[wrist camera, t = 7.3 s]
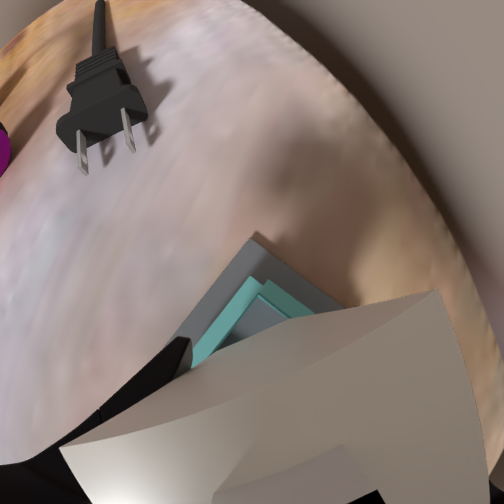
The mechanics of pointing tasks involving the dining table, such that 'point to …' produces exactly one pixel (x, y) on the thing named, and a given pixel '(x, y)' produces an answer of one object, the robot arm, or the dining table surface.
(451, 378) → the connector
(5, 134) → the headphones
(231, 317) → the holder board
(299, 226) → the dining table surface
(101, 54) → the electrical plug
